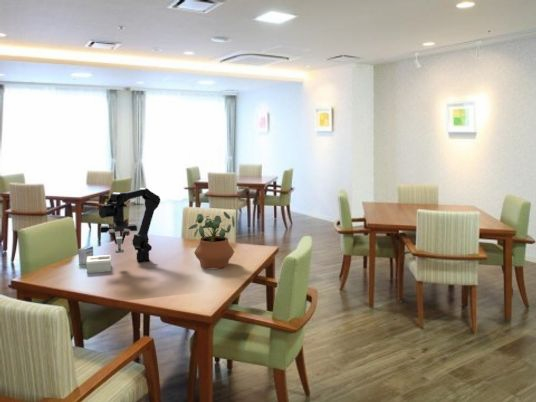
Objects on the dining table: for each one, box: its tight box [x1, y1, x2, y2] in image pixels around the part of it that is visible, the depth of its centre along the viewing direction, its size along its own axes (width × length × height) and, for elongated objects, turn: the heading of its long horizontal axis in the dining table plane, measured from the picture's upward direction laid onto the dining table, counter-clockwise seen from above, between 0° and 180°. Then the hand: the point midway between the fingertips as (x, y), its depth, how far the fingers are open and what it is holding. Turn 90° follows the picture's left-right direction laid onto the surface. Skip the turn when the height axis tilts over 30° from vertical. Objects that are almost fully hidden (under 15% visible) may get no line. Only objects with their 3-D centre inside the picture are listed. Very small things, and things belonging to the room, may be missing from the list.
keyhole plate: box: [85, 254, 112, 274], centre depth 242 cm, size 12×12×6 cm
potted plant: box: [188, 211, 235, 269], centre depth 251 cm, size 23×28×30 cm
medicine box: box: [77, 245, 94, 265], centre depth 254 cm, size 8×4×9 cm, turn 168°
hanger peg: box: [114, 236, 125, 254], centre depth 244 cm, size 4×6×8 cm
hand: (119, 243), depth 244 cm, fingers closed on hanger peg, 3 cm apart
